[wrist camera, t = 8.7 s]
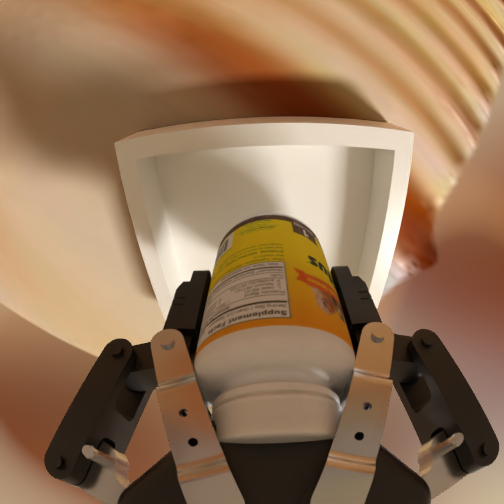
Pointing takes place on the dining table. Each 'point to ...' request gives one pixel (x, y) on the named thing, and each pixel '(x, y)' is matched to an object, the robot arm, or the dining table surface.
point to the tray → (265, 190)
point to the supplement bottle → (273, 336)
